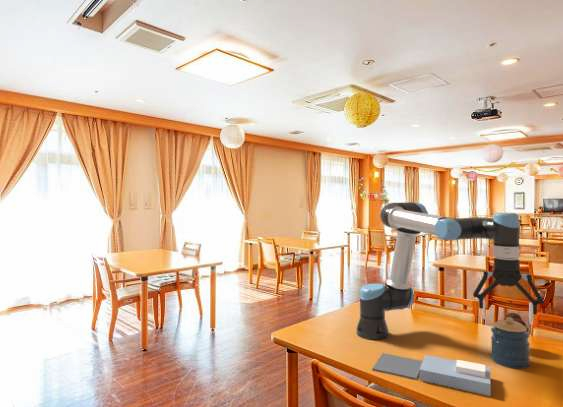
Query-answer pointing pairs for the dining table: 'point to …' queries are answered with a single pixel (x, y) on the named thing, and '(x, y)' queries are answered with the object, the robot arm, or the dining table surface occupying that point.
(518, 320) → the ice cream bowl
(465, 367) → the white rectangular block
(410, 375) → the mat
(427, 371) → the block
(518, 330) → the canister
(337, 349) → the dining table surface
